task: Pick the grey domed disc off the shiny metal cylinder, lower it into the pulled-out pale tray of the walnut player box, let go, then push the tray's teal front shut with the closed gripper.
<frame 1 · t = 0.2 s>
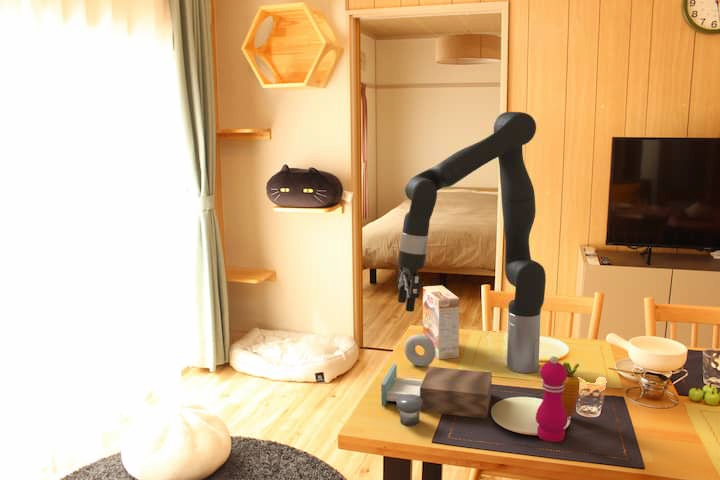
hand: (405, 306, 181), 22 cm above the table, tool pointing down, fingers open, 8 cm apart
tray: (418, 387, 174), point 3 cm above the table, slide at 9.0 cm
coffeecake box: (440, 350, 209), on the table
pepper mill: (550, 436, 155), on the table
shiny metal cylinder: (409, 421, 163), on the table
grey domed disc: (409, 406, 162), point 4 cm above the table, touching shiny metal cylinder
donut: (419, 366, 197), on the table
carrot: (567, 418, 163), on the table
housing: (456, 402, 172), on the table
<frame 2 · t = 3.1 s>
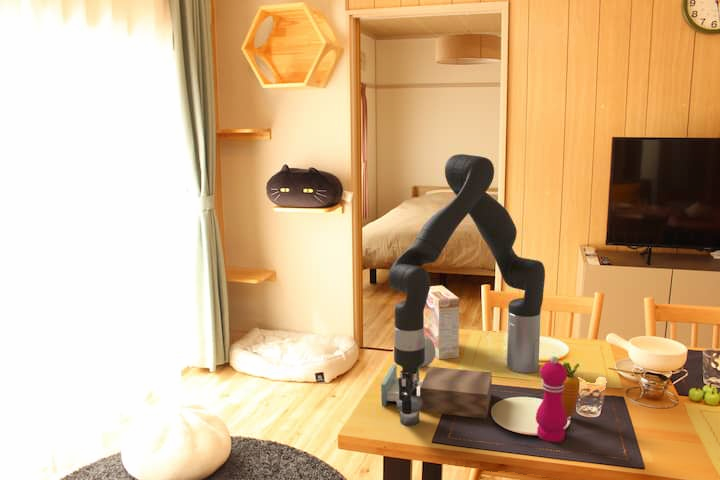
hand: (409, 406, 162), 4 cm above the table, tool pointing down, fingers closed on grey domed disc, 6 cm apart
grey domed disc: (409, 406, 162), point 4 cm above the table, touching gripper, shiny metal cylinder
everything else where it was.
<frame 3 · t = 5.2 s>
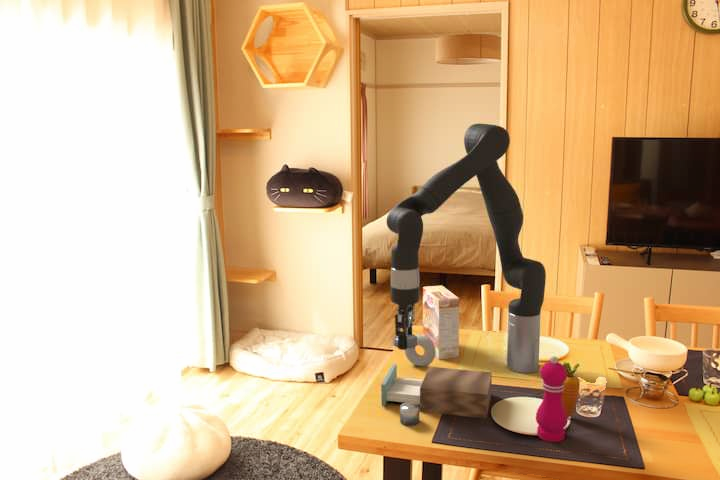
hand: (405, 344, 173), 15 cm above the table, tool pointing down, fingers closed on grey domed disc, 6 cm apart
grey domed disc: (405, 344, 173), point 15 cm above the table, touching gripper
everything else where it was.
when the fingers open (4 cm above the table, at t = 7.8 s): grey domed disc drops 2 cm, resting on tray.
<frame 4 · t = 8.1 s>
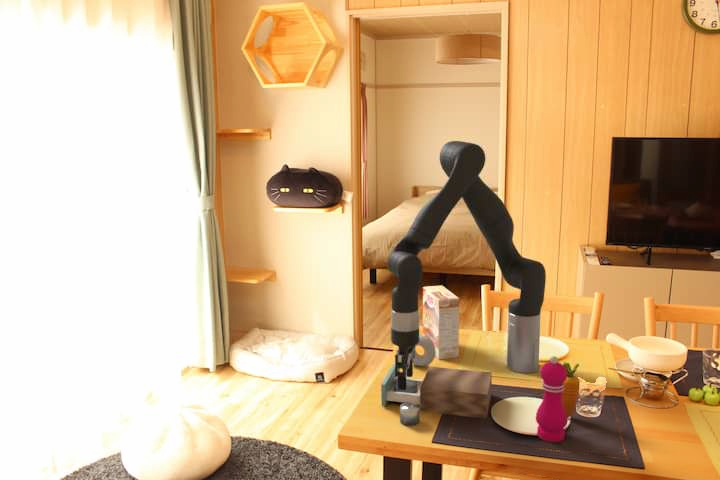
hand: (405, 382, 175), 4 cm above the table, tool pointing down, fingers open, 8 cm apart
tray: (418, 387, 174), point 3 cm above the table, slide at 9.0 cm, touching grey domed disc
grey domed disc: (405, 390, 176), point 2 cm above the table, touching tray
everything else where it was.
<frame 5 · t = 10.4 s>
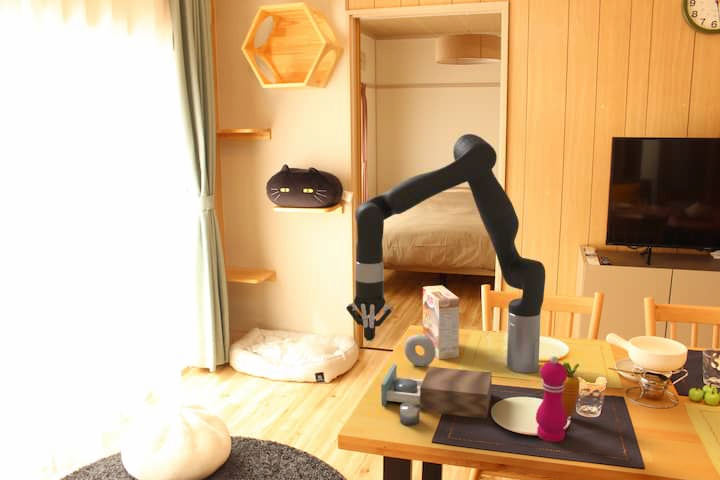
hand: (369, 339, 176), 16 cm above the table, tool pointing down, fingers closed
nothing on the table moved.
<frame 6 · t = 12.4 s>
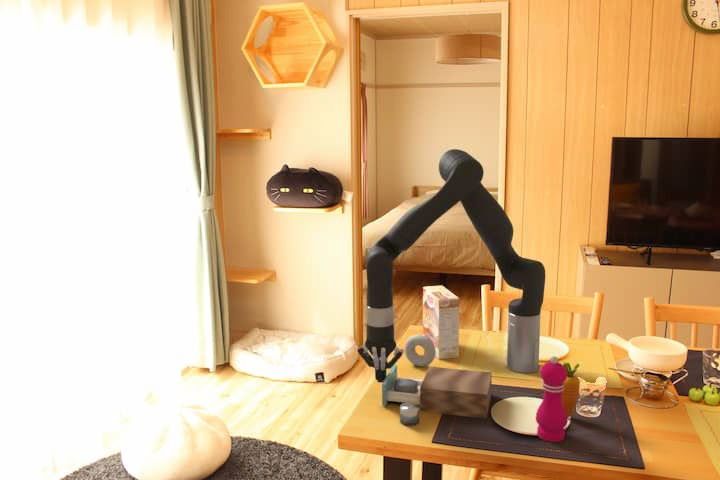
hand: (381, 381, 177), 4 cm above the table, tool pointing down, fingers closed
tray: (418, 387, 174), point 3 cm above the table, slide at 8.8 cm, touching grey domed disc, gripper
everything else where it was.
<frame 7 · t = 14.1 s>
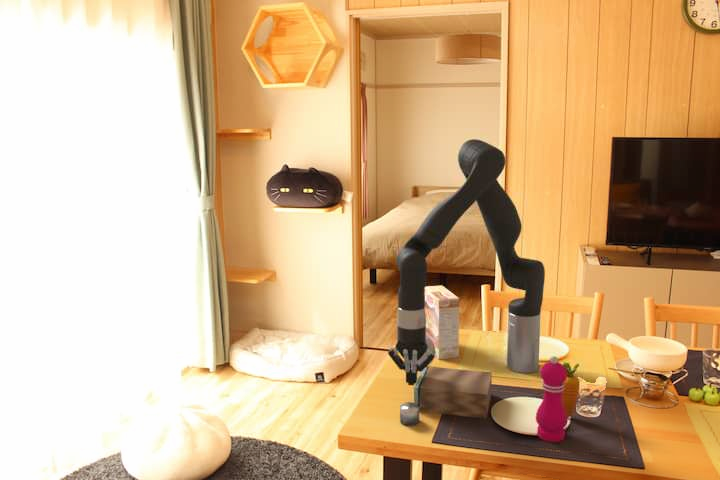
hand: (411, 384, 175), 4 cm above the table, tool pointing down, fingers closed
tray: (450, 390, 172), point 3 cm above the table, slide at 0.3 cm, touching grey domed disc, gripper
grey domed disc: (437, 393, 173), point 2 cm above the table, touching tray
everything else where it was.
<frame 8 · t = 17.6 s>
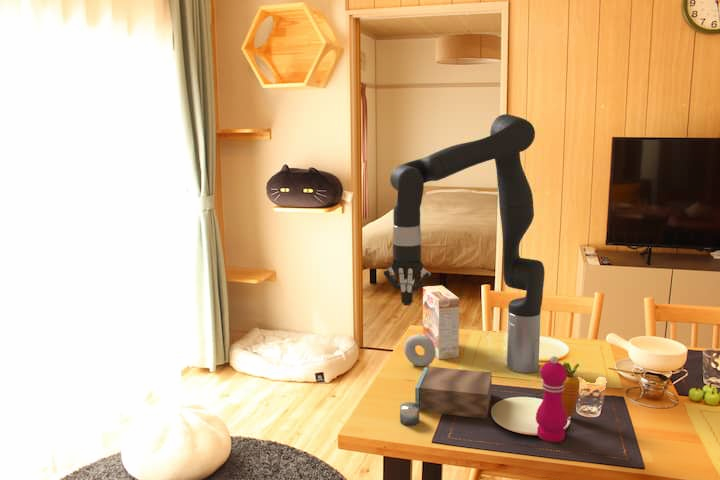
hand: (407, 304, 175), 25 cm above the table, tool pointing down, fingers closed
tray: (451, 390, 172), point 3 cm above the table, slide at 0.0 cm, touching grey domed disc
everything else where it was.
at the end: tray slide at 0.0 cm; grey domed disc inside the target area on the housing (4.5 cm from its centre), point 2.2 cm above the housing's base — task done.
